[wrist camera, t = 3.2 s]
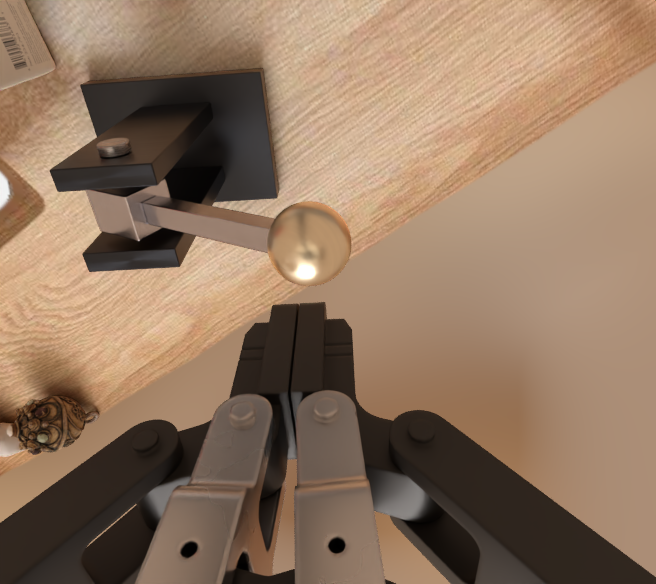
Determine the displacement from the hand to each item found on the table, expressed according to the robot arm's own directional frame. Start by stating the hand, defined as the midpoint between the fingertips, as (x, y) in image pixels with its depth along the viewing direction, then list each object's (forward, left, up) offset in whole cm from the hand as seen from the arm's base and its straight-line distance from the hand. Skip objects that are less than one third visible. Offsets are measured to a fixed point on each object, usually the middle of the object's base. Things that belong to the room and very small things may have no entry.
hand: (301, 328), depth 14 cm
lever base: (0, -9, -21) cm, 23 cm away
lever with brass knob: (0, -3, -9) cm, 10 cm away
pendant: (+26, -27, -19) cm, 42 cm away
